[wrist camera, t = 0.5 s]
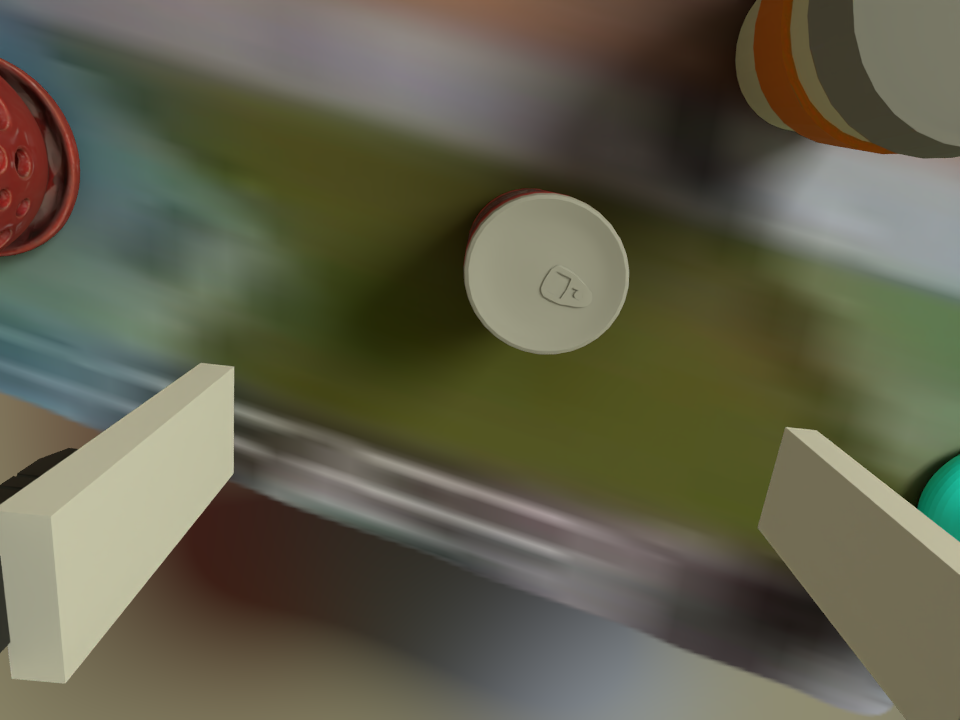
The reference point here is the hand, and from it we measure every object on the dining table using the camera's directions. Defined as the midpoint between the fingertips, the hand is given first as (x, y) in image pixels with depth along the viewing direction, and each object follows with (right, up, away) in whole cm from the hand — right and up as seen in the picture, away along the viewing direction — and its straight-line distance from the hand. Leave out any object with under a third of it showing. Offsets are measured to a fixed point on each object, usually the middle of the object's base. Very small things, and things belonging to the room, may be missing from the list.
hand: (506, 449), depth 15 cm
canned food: (+3, +9, +26) cm, 27 cm away
